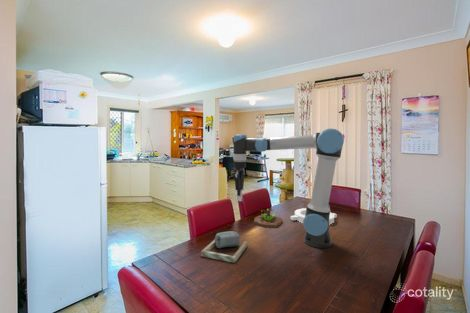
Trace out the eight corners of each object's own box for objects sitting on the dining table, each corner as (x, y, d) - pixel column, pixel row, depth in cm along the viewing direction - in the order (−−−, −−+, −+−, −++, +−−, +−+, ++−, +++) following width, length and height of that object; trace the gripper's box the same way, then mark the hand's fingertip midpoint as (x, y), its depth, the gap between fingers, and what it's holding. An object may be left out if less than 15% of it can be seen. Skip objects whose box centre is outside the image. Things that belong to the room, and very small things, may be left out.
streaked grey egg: (215, 246, 126) (218, 226, 131) (212, 247, 135) (215, 229, 139) (240, 251, 128) (242, 231, 133) (235, 252, 137) (238, 233, 141)
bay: (247, 246, 135) (247, 241, 134) (234, 262, 116) (234, 257, 116) (217, 241, 141) (217, 236, 141) (201, 256, 123) (201, 251, 122)
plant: (250, 225, 168) (250, 209, 167) (257, 217, 186) (258, 202, 185) (279, 229, 161) (279, 213, 160) (284, 220, 179) (284, 205, 178)
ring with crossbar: (337, 218, 186) (337, 212, 185) (329, 229, 162) (330, 222, 162) (300, 212, 201) (301, 206, 200) (289, 221, 177) (289, 215, 177)
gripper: (237, 159, 150) (237, 197, 152) (229, 161, 138) (229, 202, 140) (249, 160, 148) (248, 198, 149) (242, 162, 136) (242, 204, 137)
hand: (239, 200), depth 145 cm, fingers closed
